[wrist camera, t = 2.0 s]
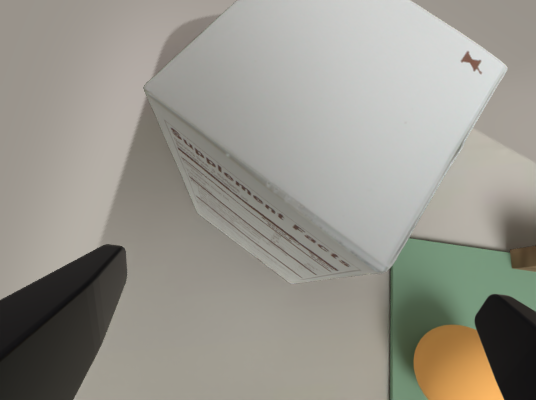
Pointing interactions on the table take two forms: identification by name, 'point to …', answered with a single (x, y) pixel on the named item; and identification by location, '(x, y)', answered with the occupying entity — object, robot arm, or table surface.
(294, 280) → the supplement box
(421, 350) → the ball
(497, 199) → the table surface
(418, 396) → the pitch mat
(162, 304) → the table surface
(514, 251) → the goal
